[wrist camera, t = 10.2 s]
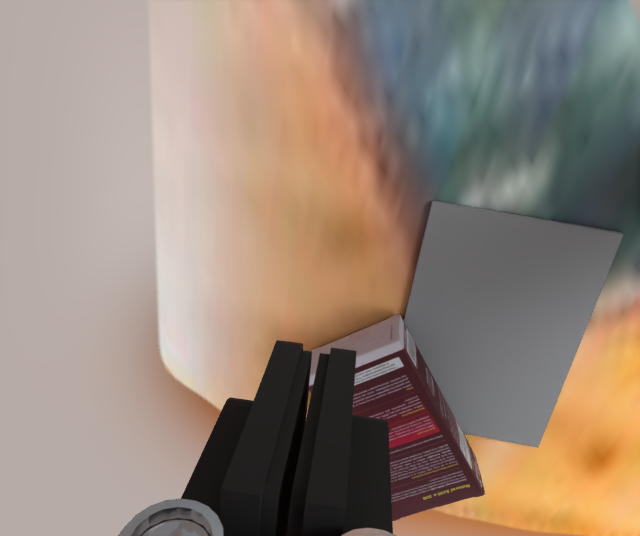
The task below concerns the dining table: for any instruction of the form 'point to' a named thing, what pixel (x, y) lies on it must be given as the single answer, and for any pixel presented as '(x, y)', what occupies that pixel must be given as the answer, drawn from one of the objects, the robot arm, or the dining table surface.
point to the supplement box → (409, 418)
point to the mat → (504, 312)
